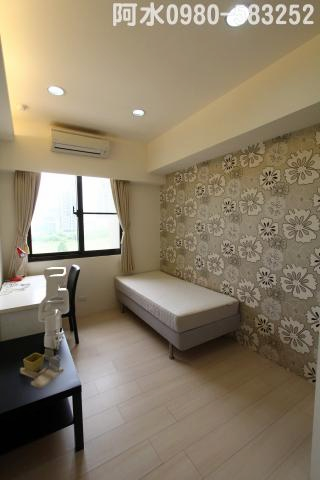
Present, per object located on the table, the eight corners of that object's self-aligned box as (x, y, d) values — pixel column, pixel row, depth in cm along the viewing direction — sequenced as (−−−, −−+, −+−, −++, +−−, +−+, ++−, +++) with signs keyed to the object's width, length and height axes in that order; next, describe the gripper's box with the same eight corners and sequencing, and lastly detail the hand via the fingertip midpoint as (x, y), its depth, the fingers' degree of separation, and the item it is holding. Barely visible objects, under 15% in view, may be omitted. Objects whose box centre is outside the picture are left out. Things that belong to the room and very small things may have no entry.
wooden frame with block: (46, 355, 159) (46, 345, 159) (60, 359, 155) (60, 349, 154) (20, 373, 140) (19, 361, 140) (35, 378, 136) (35, 366, 135)
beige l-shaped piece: (53, 367, 147) (53, 353, 146) (63, 370, 144) (63, 356, 143) (31, 384, 131) (30, 369, 130) (41, 388, 128) (40, 373, 127)
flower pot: (35, 364, 149) (35, 352, 148) (44, 368, 145) (44, 355, 145) (23, 372, 141) (22, 359, 140) (32, 376, 137) (32, 363, 137)
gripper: (64, 331, 155) (64, 356, 156) (47, 327, 160) (47, 351, 162) (55, 336, 148) (56, 362, 149) (38, 331, 153) (38, 356, 155)
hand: (51, 356), depth 155 cm, fingers closed on wooden frame with block, 2 cm apart
